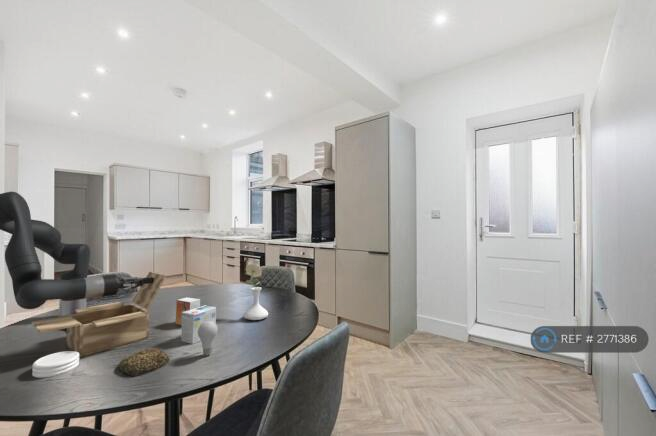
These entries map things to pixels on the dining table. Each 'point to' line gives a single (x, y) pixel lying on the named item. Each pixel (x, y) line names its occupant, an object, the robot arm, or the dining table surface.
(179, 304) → the small box
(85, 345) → the carton
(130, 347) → the dining table surface
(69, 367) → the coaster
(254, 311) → the flower in vase
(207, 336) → the lightbulb
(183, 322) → the light bulb box
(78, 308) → the robot arm
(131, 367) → the bread roll
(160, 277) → the carton flap
